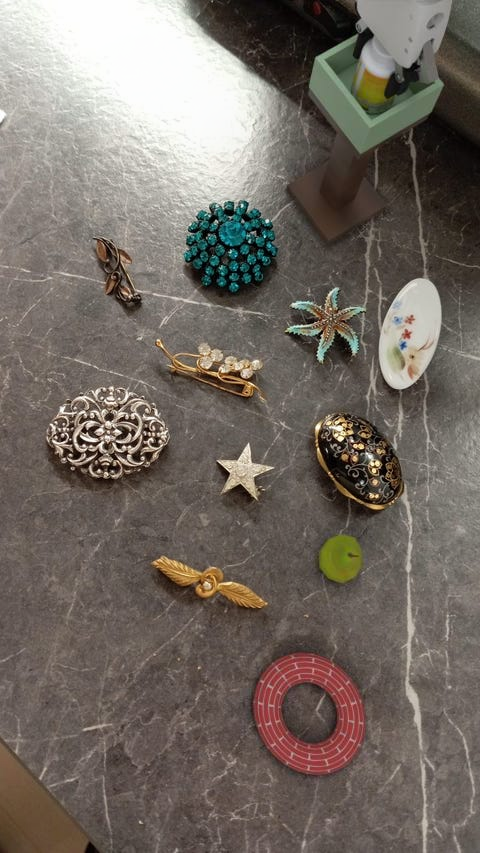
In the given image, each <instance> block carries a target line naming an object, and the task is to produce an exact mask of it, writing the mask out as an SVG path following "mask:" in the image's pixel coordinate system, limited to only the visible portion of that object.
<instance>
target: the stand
mask: <svg viewBox="0 0 480 853" xmlns="http://www.w3.org/2000/svg"><path fill="white" fill-rule="evenodd" d="M307 95H308V97H309V98H310V99H311V101H312V102H313V103H314V104H315V106H316V107H317V108H318V110H319V111H320V112H321V114H322V115H323V116H324V118H325V119H326V120H327V122H328V123H329V124H330V125H331V127H332V128H333V129H334V131H335V132H336V134H335V138H334V142H333V144H332V147H331V152H330V155H329V157H328V160H327V161H325V162H324V163H322V164H320V165H318V166H317V167H315V168H313V169H312V170H309V171H308V172H307V173H304V174H303V175H301V176H300V177H298V178H296V179H295V180H293V181H291V182H289V183H288V184H286V189H285V190H286V192H287V194H289V196H290V198H291V199H292V200H293V202H295V204H296V206H297V207H298V208H299V210H300V211H301V212H302V213H303V215H304V216H305V218H306V219H307V220H308V222H309V223H310V224H311V226H312V227H313V229H315V231H316V233H317V234H318V236H320V238H321V239H322V241H323V242H324V243H325V245H326V246H329V245H331V244H332V243H334V242H336V241H338V240H339V239H340V238H342V237H343V236H346V235H347V234H348V233H350V232H352V231H353V230H355V229H356V228H358V227H360V226H361V225H363V224H365V223H366V222H368V221H370V220H371V219H373V218H375V217H376V216H378V215H379V214H381V213H383V212H384V211H385V210H387V209H386V208H387V206H388V204H387V203H386V202H385V201H384V199H383V198H382V197H381V196H380V194H379V193H378V191H377V190H376V189H375V187H374V186H373V185H372V184H371V182H370V181H369V180H368V178H367V177H366V175H365V174H366V172H367V169H368V167H369V164H370V162H371V159H372V156H373V154H374V151H376V150H378V149H380V148H381V147H383V146H384V145H386V144H389V143H390V142H392V141H394V140H395V139H396V138H398V137H400V136H402V135H403V134H405V133H406V132H408V131H409V130H411V129H413V128H415V127H416V126H418V125H420V124H422V123H423V122H425V121H427V120H428V118H429V116H430V113H429V114H428V115H426V116H424V117H422V118H421V119H419V120H417V121H416V122H414V123H412V124H411V125H409V126H407V127H406V128H404V129H402V130H401V131H399V132H397V133H396V134H394V135H392V136H390V137H389V138H387V139H385V140H384V141H382V142H380V143H379V144H377V145H375V146H374V147H372V148H370V149H369V150H367V151H365V152H363V153H362V154H360V153H359V152H358V150H357V149H356V148H355V146H354V145H353V144H352V143H351V141H350V140H349V139H348V137H347V136H346V135H345V133H344V132H343V131H342V130H341V128H340V127H339V126H338V124H337V123H336V122H335V120H334V119H333V118H332V116H331V115H330V114H329V113H328V111H327V110H326V109H325V107H324V106H323V105H322V103H321V102H320V101H319V100H318V98H317V97H316V96H315V94H314V93H313V92H312V90H311V89H310V88H308V93H307Z"/></svg>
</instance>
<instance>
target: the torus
mask: <svg viewBox="0 0 480 853" xmlns="http://www.w3.org/2000/svg"><path fill="white" fill-rule="evenodd" d="M303 683H309V684H314V685H316V686H318V687H319V688H322V689H323V690H324V691H325V692H326V693H327V694H328V695H329V697H330V698H331V699H332V701H333V703H334V706H335V709H336V724H335V728H334V729H333V732H332V733H331V734H330V736H328V737H327V738H326V739H324V740H323V741H320V742H315V743H314V742H313V743H312V742H305V741H303V740H301V739H300V738H298V737H296V736H295V735H293V734H292V732H291V731H290V729H288V726H287V725H286V723H285V721H284V718H283V713H282V712H283V711H282V706H283V701H284V698H285V696H286V694H287V693H288V691H289V690H290V689H292V688H293V687H294V686H296V685H298V684H303ZM252 710H253V719H254V722H255V723H254V724H255V726H256V729H257V731H258V734H259V737H260V738H261V740H262V742H263V743H264V745H265V747H266V748H267V749H268V750H269V752H270V753H271V754H272V755H273V756H274V757H275V759H277V760H278V761H279V762H281V763H282V764H283V765H285V766H286V767H288V768H290V769H292V770H294V771H296V772H298V773H303V774H306V775H313V776H316V775H319V776H320V775H327V774H332V773H334V772H337V771H339V770H340V769H342V768H344V767H346V766H347V765H348V764H349V763H350V762H351V761H352V760H353V759H355V757H356V755H357V754H358V752H359V750H360V749H361V747H362V744H363V741H364V738H365V734H366V725H367V724H366V722H367V720H366V718H367V717H366V710H365V706H364V702H363V699H362V696H361V694H360V691H359V689H358V688H357V685H356V684H355V683H354V681H353V680H352V678H351V677H350V676H349V675H348V674H347V673H346V671H345V670H343V668H341V667H340V666H339V665H338V664H337V663H335V662H334V661H332V660H330V659H328V658H326V657H324V656H321V655H319V654H315V653H310V652H294V653H288V654H286V655H283V656H281V657H279V658H277V659H276V660H274V661H273V662H272V663H270V664H269V665H268V666H267V667H266V668H265V669H264V671H262V674H261V675H260V677H259V678H258V681H257V683H256V686H255V689H254V693H253V703H252Z"/></svg>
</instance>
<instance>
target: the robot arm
mask: <svg viewBox="0 0 480 853" xmlns="http://www.w3.org/2000/svg"><path fill="white" fill-rule="evenodd" d="M452 5H453V0H355V2H354V10H355V13H356V17H357V20H358V21H357V22H356V23H355V28H356V31H357V34H358V33H359V34H358V37H357V41H356V45H355V48H354V52H353V57H354V58H355V59H359V58H360V55H361V52H362V49H363V47H364V45H365V44H366V42H367V41H368V40H370V39H371V38H373V37H374V35H375V36H376V37H377V39H378V40H379V41H380V42H381V44H382V45H383V46H384V47H385V49H386V50H387V51H388V52H389V54H390V55H391V56H392V57H393V58H394V60H395V73H393V74H392V75H391V76H390V78H389V81H388V84H387V86H386V89H385V92H384V96H385V98H386V99H389V98H391V97H392V96H394V95H397V96H400V95H401V94H403V93H404V92H406V91H407V89H408V87H409V85H410V82H417V81H420V82H421V83H425V84H430V83H432V82H433V81H435V80H437V79H438V77H439V71H438V67H437V62H436V58H435V54H436V53H437V52H438V51H439V50H440V49H439V48H440V46H441V44H442V41H443V38H444V35H445V32H446V30H447V26H448V23H449V20H450V19H449V18H450V15H451V12H452V11H451V10H452Z"/></svg>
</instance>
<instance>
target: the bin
mask: <svg viewBox="0 0 480 853" xmlns="http://www.w3.org/2000/svg"><path fill="white" fill-rule="evenodd" d="M358 34H359V32H357V33H356V34H355V35H353V36H351V37H350V38H347V39H346V40H344V41H342V42H341V43H338V44H337V45H335V46H333V47H332V48H330V49H327V50H326V51H324V52H323V53H321V54H319V55H317V56H315V57H314V62H313V66H312V70H311V76H310V79H309V84H308V89H311V90H312V92H313V93H314V94H315V96H316V97H317V98H318V100H319V101H320V102H321V103H322V105H323V106H324V107H325V109H326V110H327V111H328V113H329V114H330V115H331V116H332V118H333V119H334V120H335V122H336V123H337V124H338V126H339V127H340V128H341V130H342V131H343V132H344V133H345V135H346V136H347V137H348V139H349V140H350V141H351V143H352V144H353V145H354V146H355V148H356V149H357V150H358V152H359V153H360V154H362V153H363V152H365V151H367V150H369V149H370V148H372V147H374V146H375V145H377V144H379V143H380V142H382V141H384V140H385V139H387V138H389V137H390V136H392V135H394V134H396V133H397V132H399V131H401V130H402V129H404V128H406V127H407V126H409V125H411V124H412V123H414V122H416V121H417V120H419V119H421V118H422V117H424V116H426V115H428V114H429V115H430V114H431V113H432V112H433V110H434V108H435V106H436V103H437V101H438V100H439V97H440V94H441V92H442V90H443V88H444V86H445V84H444V82H443V81H442V80H441V78H440V77H439V76H438V79H437V80H435V81H433V82H432V83H430V84H425V83H421V82H420V81H417V82H410V85H409V87H408V89H407V91H406V92H404V93H403V94H401V95H400V96H397V95H395V98H394V100H393V103H392V104H391V106H390V107H389V108H388V109H386V110H385V111H383V112H380V113H367V112H365V111H364V110H363V109H362V107H361V106H360V105H359V103H358V102H357V101H356V100H355V98H354V97H353V96H352V94H351V86H352V83H353V79H354V76H355V72H356V69H357V66H358V62H359V59H360V58H359V59H355V58H354V57H353V52H354V48H355V45H356V41H357V37H358Z"/></svg>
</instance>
